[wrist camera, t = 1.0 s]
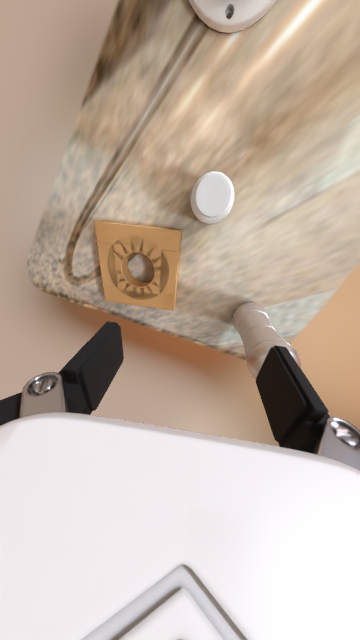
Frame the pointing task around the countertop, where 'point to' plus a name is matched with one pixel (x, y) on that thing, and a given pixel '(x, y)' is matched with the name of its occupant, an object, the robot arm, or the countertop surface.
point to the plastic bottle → (258, 335)
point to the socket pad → (154, 244)
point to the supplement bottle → (212, 197)
